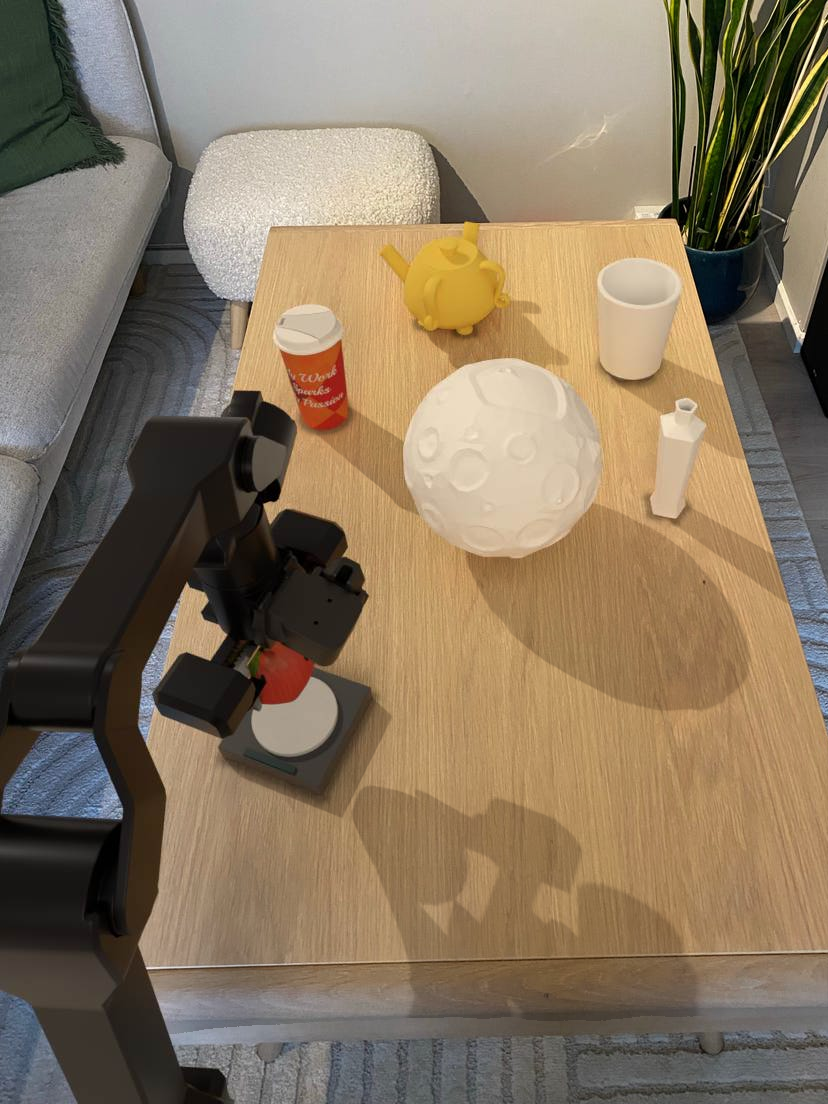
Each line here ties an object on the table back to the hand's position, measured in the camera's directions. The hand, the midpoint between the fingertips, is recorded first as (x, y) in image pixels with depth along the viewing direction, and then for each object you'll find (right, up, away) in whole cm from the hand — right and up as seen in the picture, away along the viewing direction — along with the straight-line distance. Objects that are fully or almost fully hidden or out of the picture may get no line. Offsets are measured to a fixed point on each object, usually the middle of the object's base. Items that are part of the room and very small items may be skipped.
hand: (278, 670), depth 76 cm
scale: (0, -7, +8) cm, 10 cm away
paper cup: (-2, +23, +35) cm, 42 cm away
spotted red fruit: (0, -2, +2) cm, 3 cm away
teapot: (+12, +38, +49) cm, 63 cm away
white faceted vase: (+37, +12, +24) cm, 46 cm away
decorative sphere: (+19, +11, +23) cm, 32 cm away
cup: (+36, +29, +40) cm, 61 cm away
